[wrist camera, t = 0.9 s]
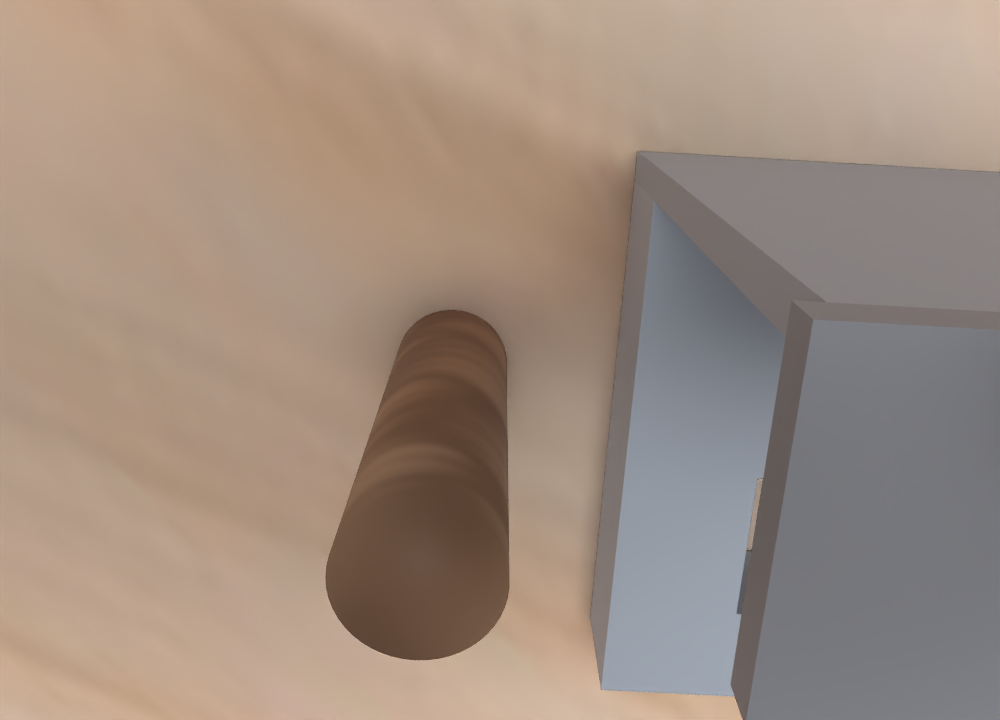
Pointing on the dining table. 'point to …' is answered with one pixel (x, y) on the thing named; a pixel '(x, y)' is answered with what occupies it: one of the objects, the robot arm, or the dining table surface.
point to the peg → (430, 499)
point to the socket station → (806, 441)
